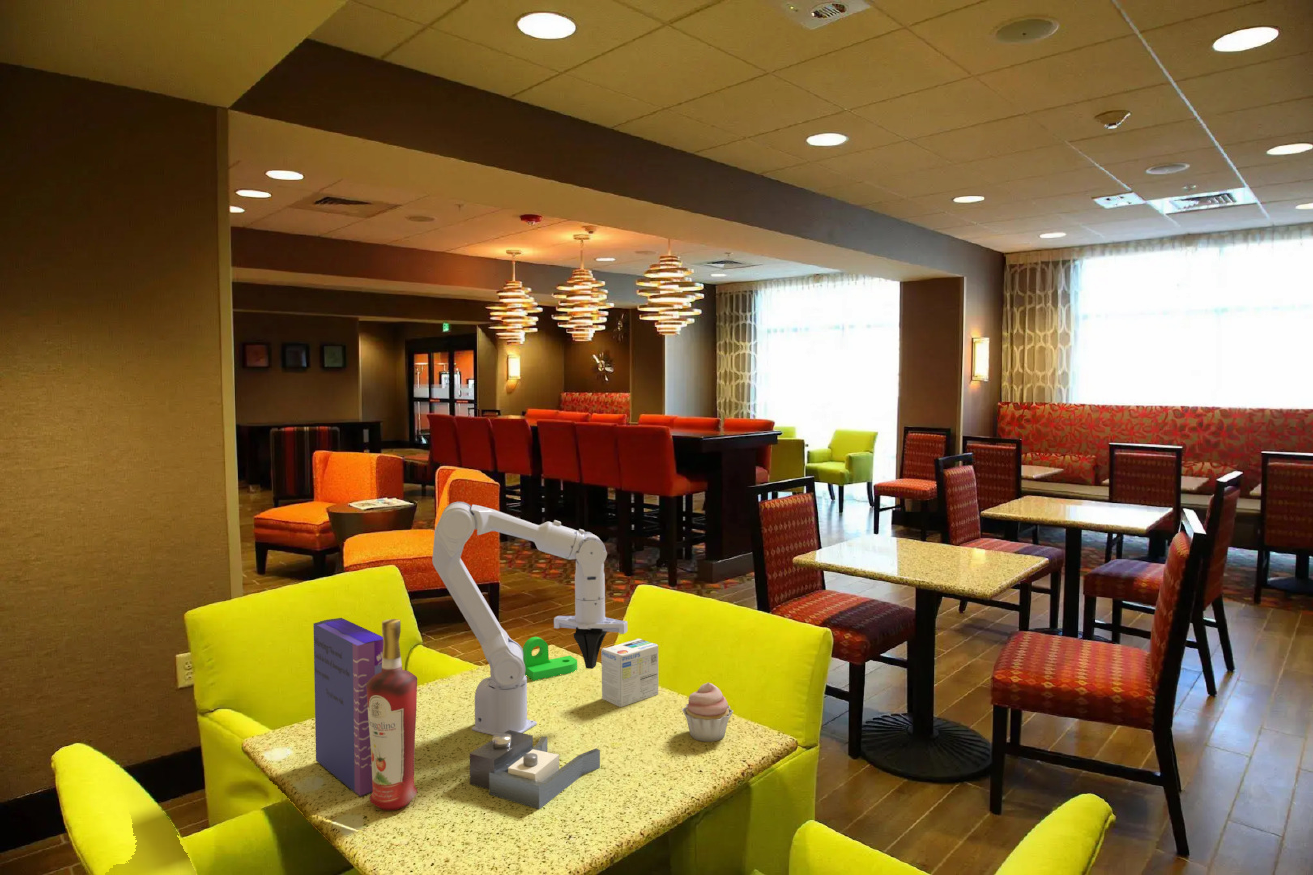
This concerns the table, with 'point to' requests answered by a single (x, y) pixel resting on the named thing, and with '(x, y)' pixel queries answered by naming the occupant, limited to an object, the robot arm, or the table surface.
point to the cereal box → (345, 699)
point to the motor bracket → (493, 775)
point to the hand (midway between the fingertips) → (591, 667)
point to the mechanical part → (545, 661)
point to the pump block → (535, 765)
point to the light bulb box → (629, 672)
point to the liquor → (392, 725)
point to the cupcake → (707, 713)
